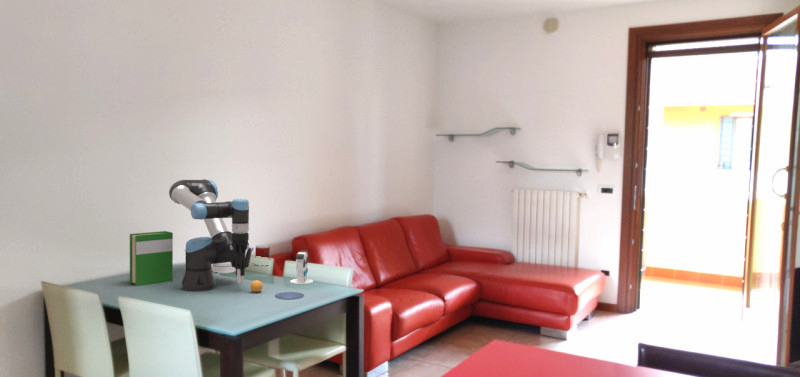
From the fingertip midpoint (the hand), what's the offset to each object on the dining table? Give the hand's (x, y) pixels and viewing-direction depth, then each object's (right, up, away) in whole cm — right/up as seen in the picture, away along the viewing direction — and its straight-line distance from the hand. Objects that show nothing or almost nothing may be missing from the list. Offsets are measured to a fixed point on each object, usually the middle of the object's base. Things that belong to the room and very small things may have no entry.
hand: (240, 282), depth 270 cm
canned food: (-4, 0, +62) cm, 62 cm away
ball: (+8, -1, -2) cm, 9 cm away
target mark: (+24, -5, -7) cm, 26 cm away
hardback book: (-46, -2, +12) cm, 48 cm away
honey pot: (-20, -1, +44) cm, 48 cm away
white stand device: (+25, -3, +22) cm, 33 cm away
